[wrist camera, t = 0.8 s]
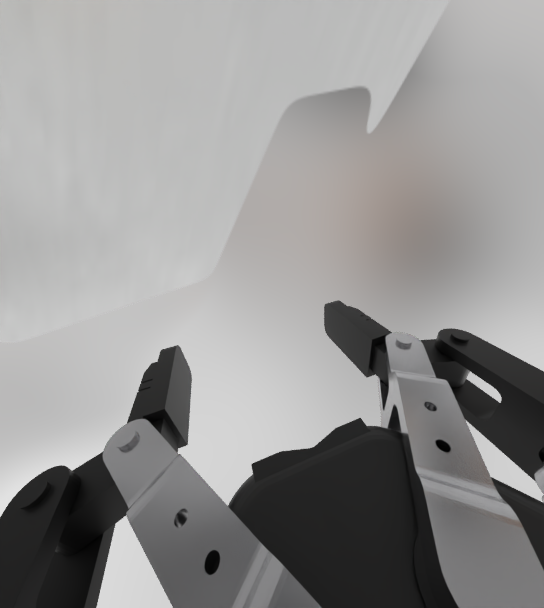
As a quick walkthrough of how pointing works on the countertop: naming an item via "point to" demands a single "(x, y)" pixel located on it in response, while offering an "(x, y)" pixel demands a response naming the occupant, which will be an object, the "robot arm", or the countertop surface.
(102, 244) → the countertop surface
